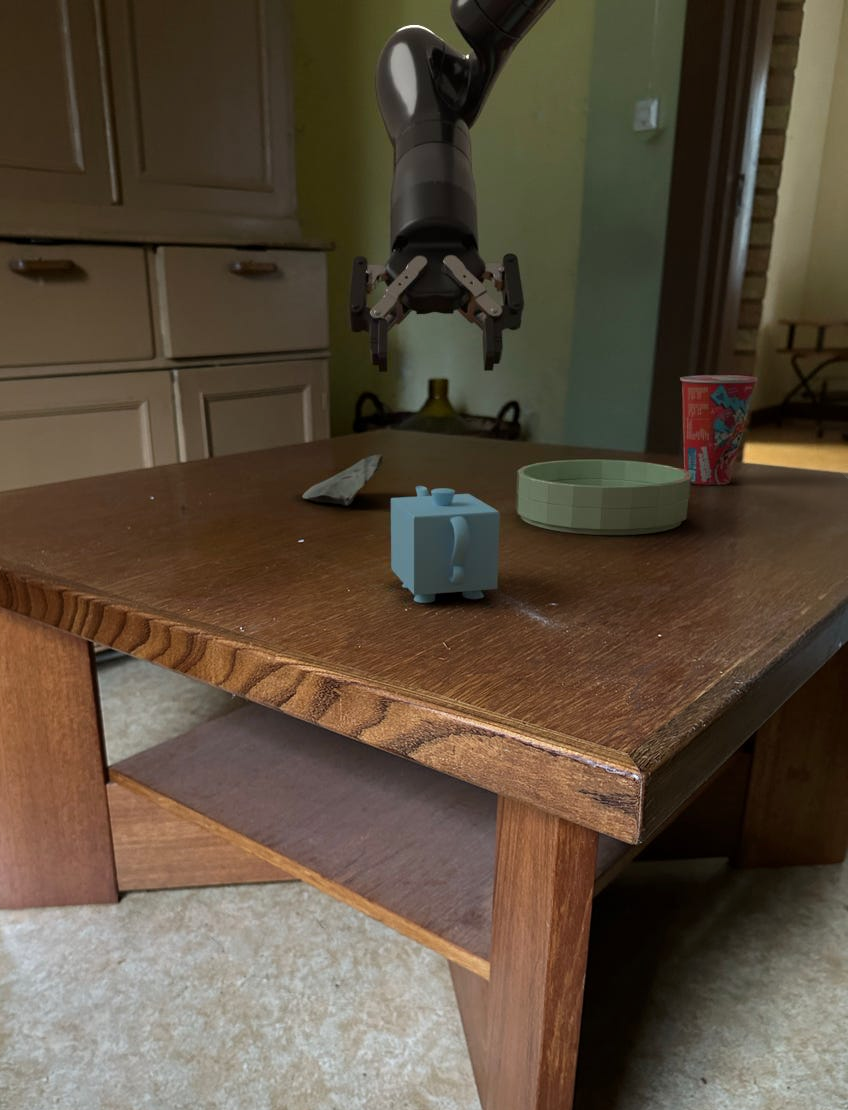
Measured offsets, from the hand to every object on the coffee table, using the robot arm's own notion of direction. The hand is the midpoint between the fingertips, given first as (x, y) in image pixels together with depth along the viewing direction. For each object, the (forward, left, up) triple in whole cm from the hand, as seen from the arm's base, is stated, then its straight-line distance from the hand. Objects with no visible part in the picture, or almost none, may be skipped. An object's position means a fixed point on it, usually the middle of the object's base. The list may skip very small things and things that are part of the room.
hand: (436, 364), depth 73 cm
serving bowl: (-16, -14, -15) cm, 27 cm away
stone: (+11, -23, -16) cm, 30 cm away
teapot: (0, +11, -16) cm, 19 cm away
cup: (-32, -35, -16) cm, 50 cm away
